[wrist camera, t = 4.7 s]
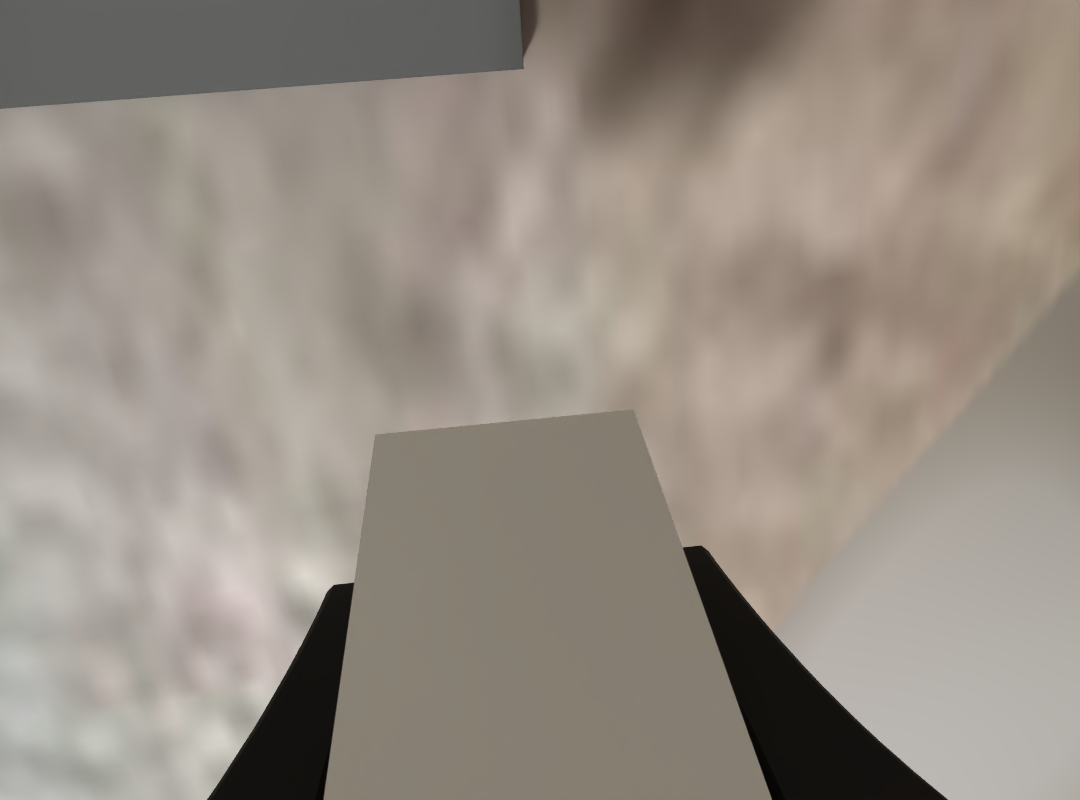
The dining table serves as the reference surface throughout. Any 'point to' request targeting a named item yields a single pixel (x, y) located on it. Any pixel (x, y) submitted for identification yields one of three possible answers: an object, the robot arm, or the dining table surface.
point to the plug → (530, 627)
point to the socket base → (241, 45)
